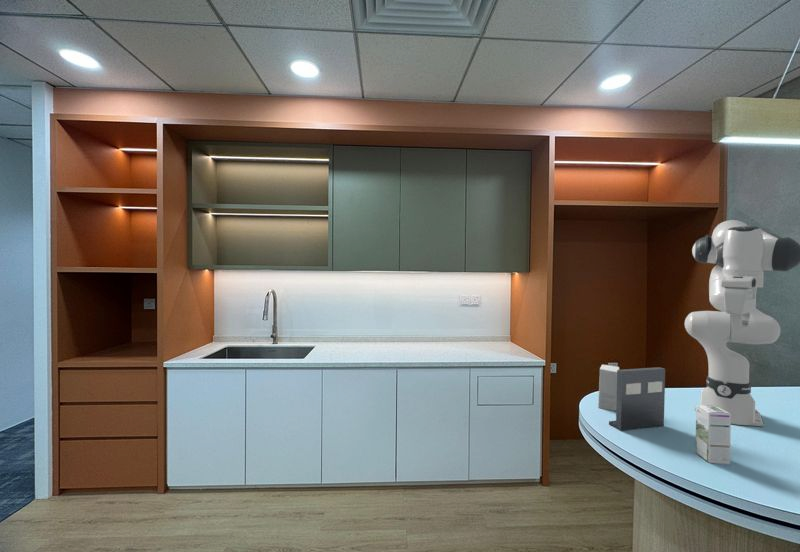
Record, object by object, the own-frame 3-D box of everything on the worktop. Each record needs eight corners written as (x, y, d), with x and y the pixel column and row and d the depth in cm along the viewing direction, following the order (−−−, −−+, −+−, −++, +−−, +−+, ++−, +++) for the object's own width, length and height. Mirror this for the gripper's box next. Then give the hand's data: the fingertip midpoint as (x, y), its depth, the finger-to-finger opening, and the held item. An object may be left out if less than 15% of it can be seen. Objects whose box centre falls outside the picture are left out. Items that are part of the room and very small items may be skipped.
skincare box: (600, 401, 147) (601, 363, 147) (619, 405, 143) (620, 366, 143) (597, 408, 140) (598, 368, 140) (617, 412, 136) (618, 371, 136)
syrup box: (731, 465, 99) (732, 413, 99) (707, 463, 100) (708, 411, 100) (716, 454, 105) (717, 405, 105) (694, 452, 106) (695, 404, 105)
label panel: (650, 420, 129) (651, 364, 128) (664, 426, 124) (666, 368, 123) (608, 424, 125) (610, 367, 124) (621, 431, 119) (622, 371, 119)
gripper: (735, 280, 114) (734, 323, 114) (719, 281, 102) (718, 329, 102) (763, 281, 109) (762, 326, 109) (750, 281, 97) (748, 332, 97)
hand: (740, 327), depth 106 cm, fingers open, 8 cm apart
